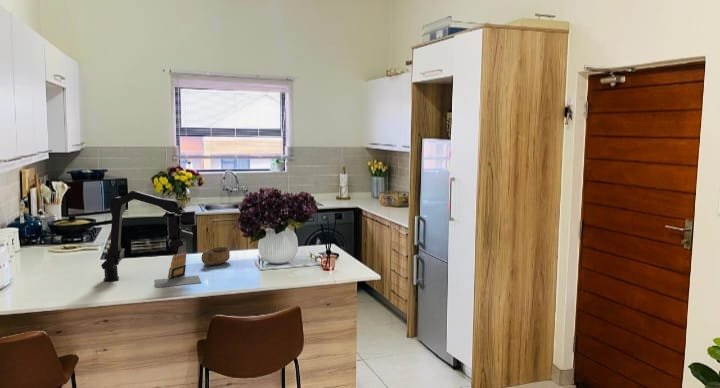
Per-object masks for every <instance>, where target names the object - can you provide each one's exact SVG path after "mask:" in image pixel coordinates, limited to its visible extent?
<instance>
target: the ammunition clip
mask: <svg viewBox="0 0 720 388" xmlns="http://www.w3.org/2000/svg"><path fill="white" fill-rule="evenodd" d="M186 262H187V251H186V250H185V251H182V252H178V254H176V255H175V254H174V255H173V254H172V258H171V262H170V267H169V269H168V274H167V275H168V276H167V279H168V278H169V279H173V278H178V277H181V276H182V277H183V276H185V275H186V267H187V265H186Z"/></svg>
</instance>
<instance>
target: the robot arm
mask: <svg viewBox="0 0 720 388" xmlns="http://www.w3.org/2000/svg"><path fill="white" fill-rule="evenodd" d="M134 200H136V201H139V202H141V203H142V202H144V203H146V204H150V205H154V206H157V207H159V208H161V209H162V210H165V213H164V214H163V215H162V218H167V234H168V235H167V236H166V241H167V242H168V243H167V245H168V247H169V249H170V252H171V253H172V256H173V255H174V254H175V255H176V254H177V255H178V253H179V248H180V247H183V246H184V240H183V239H187V240H189V241H192V239H193V236H194V233H193V232H191V231H190V229H189V228H186V229H185V230H184V229H182V227H181V224H182V225H183V226H197V220H198V219H197V218H198V217H197V213H196V210H192V211H185V209H184V208H183V207H182V206H181V202H180V201H179V200H178V199H176V198H168V197H167V198H164V197H159V196H156V195H152V194H148V193H146V192H142V191H139V190H137V189H135V190H131V191H129V192H128V193H125V194H124V195H122V196H119V195H118V196H116V197H113V198H111V199H110V200H109V201H108V202H109V203H108V204H109V211H110V214H111V227H110V229H111V231H110V245H109V247H108V250H107V253H106V257H105V260H104V262H102V264H101V265H100V266H101V268H102V270H103V272H104V278H103V282H112V281H113V282H115V281H119V280H120V276H119V275H118V273H119V272H118V271H119V270H118V266H119V264H120V262H121V261H122V260H123V259H124V257H125V250H126V249H125V248H124V247H123V248H122V245H121V239H122V224H123V223H122V222H123V215H124V212H125V209H126V205H127V203H130V202H131V201H134Z"/></svg>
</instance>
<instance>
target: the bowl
mask: <svg viewBox="0 0 720 388" xmlns="http://www.w3.org/2000/svg"><path fill="white" fill-rule="evenodd" d="M230 249H231V248H230V247H228V246H217V247H212V248H208V249H206V250H204V251H203V252H202V255H201V262H202V264H204V265H206V266H216V265H222V264H224V263H225V262H226V263H227V261H229V260H230V258H231V256H230V255H231V253H230Z"/></svg>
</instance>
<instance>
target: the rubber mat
mask: <svg viewBox="0 0 720 388" xmlns="http://www.w3.org/2000/svg"><path fill="white" fill-rule="evenodd" d="M196 284H202V281H201V278H200V276H199V275H191V276H190V275H189V276H182V277H181V276H179V277H176V278H173V279H169V278H168V277H167V278H160V279H154V286H155V288H156V289H157V288H169V287H175V286H176V287H177V286H178V287H179V286H185V285H186V286H187V285H196Z"/></svg>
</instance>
